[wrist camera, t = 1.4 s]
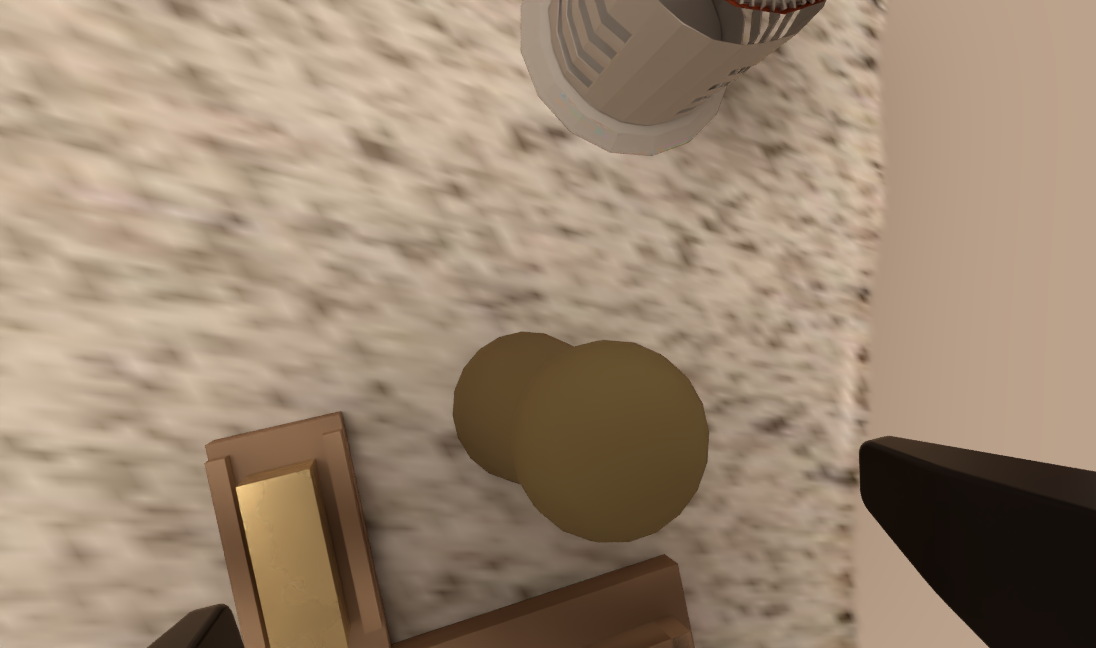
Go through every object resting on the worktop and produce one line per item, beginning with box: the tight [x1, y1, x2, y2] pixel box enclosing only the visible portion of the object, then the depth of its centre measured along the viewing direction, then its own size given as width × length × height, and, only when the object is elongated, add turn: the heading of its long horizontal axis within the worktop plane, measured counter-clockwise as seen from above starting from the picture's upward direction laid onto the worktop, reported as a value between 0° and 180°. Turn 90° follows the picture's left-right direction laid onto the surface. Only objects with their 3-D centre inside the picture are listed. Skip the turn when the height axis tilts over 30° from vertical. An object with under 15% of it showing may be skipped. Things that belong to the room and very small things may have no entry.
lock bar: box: [236, 458, 351, 648], centre depth 21 cm, size 6×2×2 cm, turn 12°
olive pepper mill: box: [453, 332, 709, 542], centre depth 20 cm, size 6×6×11 cm
